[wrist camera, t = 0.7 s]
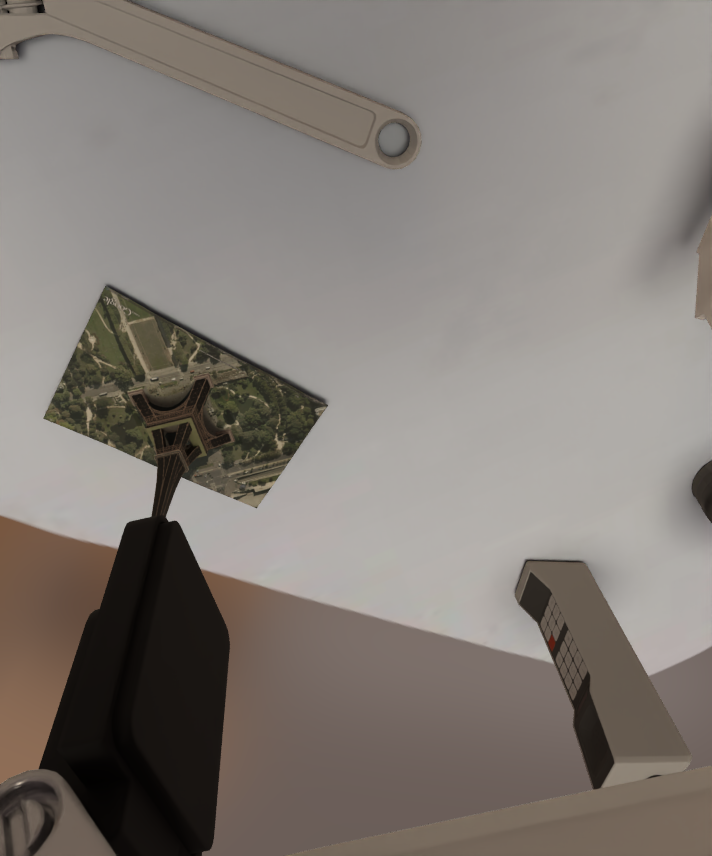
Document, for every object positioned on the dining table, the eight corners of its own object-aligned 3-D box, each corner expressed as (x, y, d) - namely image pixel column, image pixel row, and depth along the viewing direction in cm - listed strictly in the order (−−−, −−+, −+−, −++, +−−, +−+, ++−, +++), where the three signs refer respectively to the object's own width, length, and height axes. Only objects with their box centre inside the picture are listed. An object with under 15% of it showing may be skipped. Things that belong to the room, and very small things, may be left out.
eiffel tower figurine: (332, 399, 42) (350, 538, 31) (256, 508, 46) (248, 665, 35) (107, 283, 37) (30, 400, 26) (43, 417, 41) (-48, 569, 30)
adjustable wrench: (426, 120, 34) (433, 125, 33) (371, 233, 37) (375, 243, 36) (-109, -170, 26) (-132, -181, 25) (-126, 1, 29) (-148, 1, 28)
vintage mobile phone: (524, 558, 52) (692, 934, 30) (584, 560, 52) (788, 928, 31) (513, 593, 53) (662, 968, 32) (570, 594, 54) (754, 962, 33)
